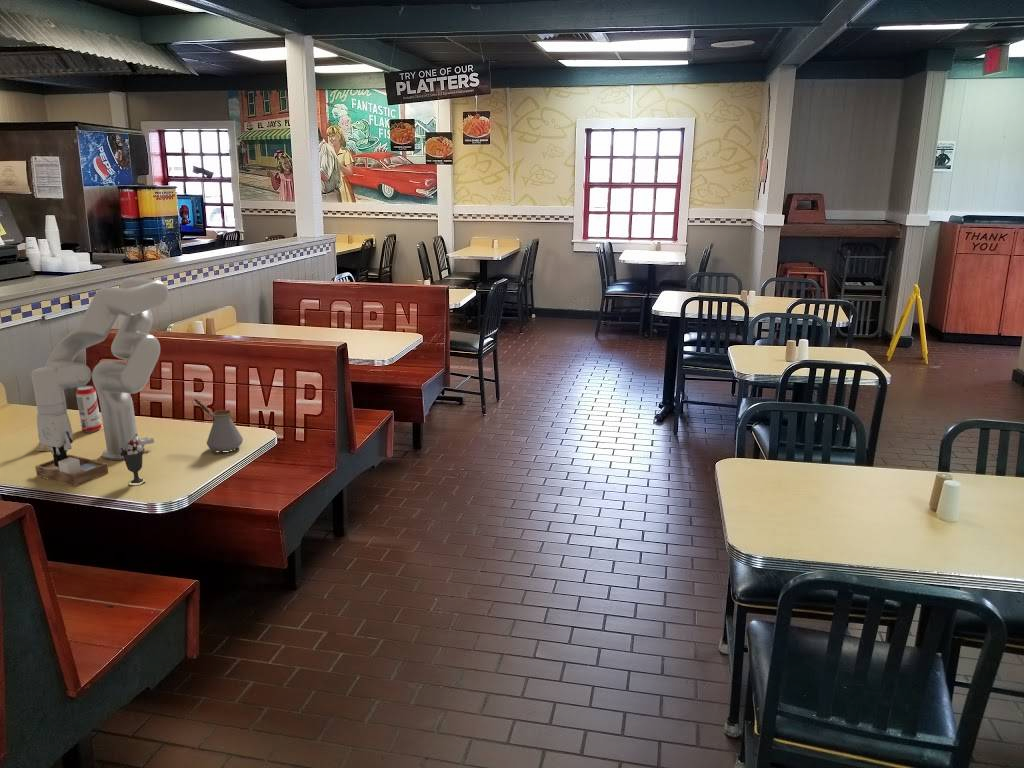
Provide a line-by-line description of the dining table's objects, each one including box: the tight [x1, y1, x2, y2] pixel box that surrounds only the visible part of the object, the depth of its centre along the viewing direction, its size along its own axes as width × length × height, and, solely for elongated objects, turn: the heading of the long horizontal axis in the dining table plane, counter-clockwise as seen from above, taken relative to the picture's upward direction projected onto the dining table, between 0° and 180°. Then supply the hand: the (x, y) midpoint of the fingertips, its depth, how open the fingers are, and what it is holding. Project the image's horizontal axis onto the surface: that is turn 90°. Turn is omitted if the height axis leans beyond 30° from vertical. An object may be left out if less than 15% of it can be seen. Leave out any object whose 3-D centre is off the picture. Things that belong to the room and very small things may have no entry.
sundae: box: [120, 433, 146, 483], centre depth 230 cm, size 7×7×15 cm
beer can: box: [75, 385, 102, 433], centre depth 274 cm, size 6×6×16 cm
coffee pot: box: [191, 398, 244, 452], centre depth 259 cm, size 21×12×15 cm, turn 54°
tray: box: [35, 454, 109, 487], centre depth 237 cm, size 18×11×3 cm, turn 64°
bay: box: [80, 463, 98, 471], centre depth 238 cm, size 5×5×2 cm
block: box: [58, 457, 81, 475], centre depth 232 cm, size 4×4×4 cm
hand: (61, 465), depth 234 cm, fingers closed
